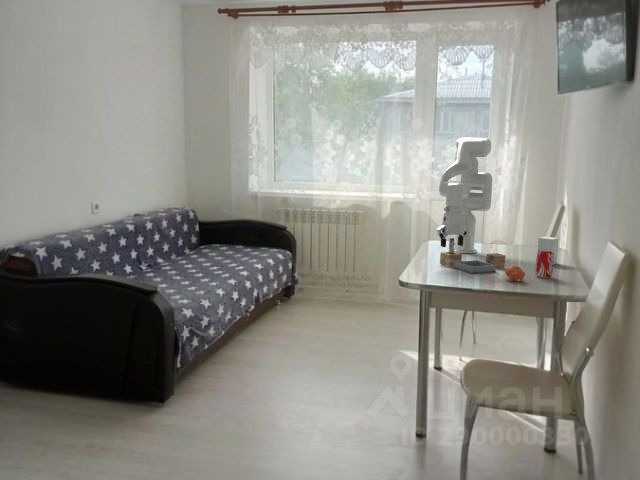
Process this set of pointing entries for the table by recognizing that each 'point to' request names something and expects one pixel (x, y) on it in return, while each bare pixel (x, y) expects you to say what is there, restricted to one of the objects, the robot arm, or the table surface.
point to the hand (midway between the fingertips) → (451, 246)
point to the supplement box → (549, 245)
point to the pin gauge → (451, 245)
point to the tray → (475, 266)
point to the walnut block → (496, 260)
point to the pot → (515, 273)
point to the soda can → (544, 263)
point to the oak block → (449, 258)
